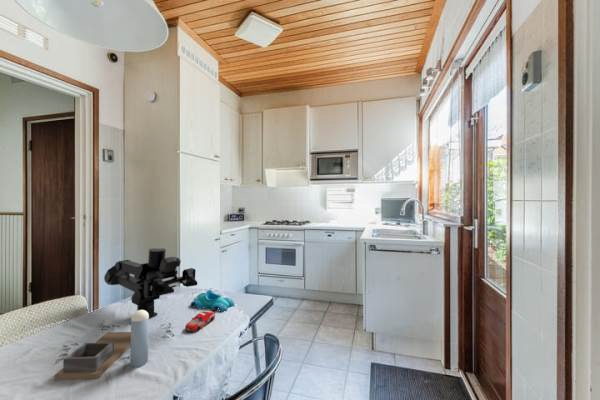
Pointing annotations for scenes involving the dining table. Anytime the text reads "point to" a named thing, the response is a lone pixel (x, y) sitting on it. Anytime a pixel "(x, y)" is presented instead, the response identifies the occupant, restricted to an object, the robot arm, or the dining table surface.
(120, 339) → the board
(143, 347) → the post
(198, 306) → the toy car
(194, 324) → the race car
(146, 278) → the robot arm
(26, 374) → the dining table surface
